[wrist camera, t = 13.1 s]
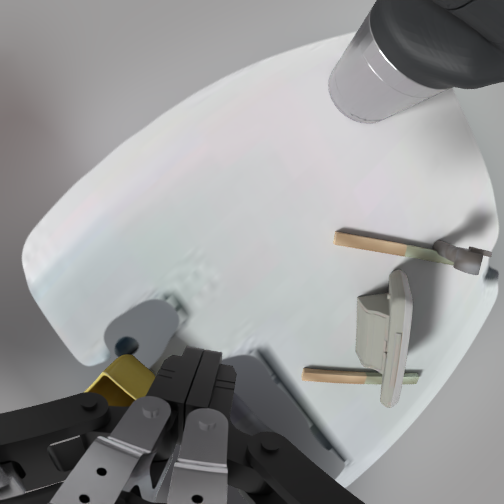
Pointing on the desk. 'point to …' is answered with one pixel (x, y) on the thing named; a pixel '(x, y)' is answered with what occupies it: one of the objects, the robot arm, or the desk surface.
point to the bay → (440, 253)
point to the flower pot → (123, 381)
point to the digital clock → (386, 334)
